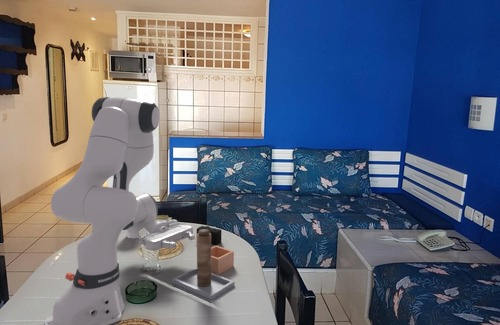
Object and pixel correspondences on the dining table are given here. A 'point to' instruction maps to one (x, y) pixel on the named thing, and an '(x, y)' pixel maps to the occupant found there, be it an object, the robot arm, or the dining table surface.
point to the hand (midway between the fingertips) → (184, 241)
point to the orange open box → (221, 259)
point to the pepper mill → (204, 258)
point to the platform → (163, 218)
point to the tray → (210, 292)
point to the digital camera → (212, 234)
